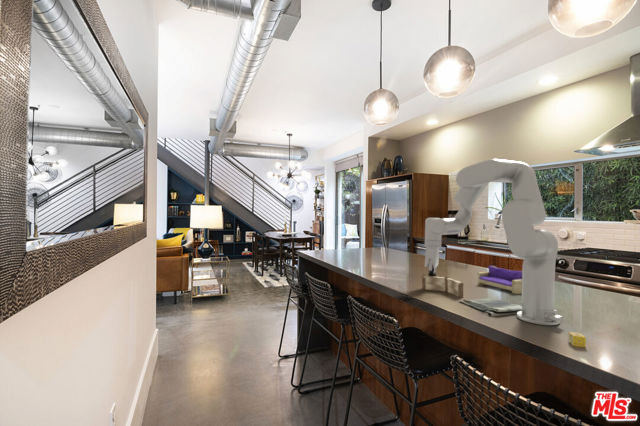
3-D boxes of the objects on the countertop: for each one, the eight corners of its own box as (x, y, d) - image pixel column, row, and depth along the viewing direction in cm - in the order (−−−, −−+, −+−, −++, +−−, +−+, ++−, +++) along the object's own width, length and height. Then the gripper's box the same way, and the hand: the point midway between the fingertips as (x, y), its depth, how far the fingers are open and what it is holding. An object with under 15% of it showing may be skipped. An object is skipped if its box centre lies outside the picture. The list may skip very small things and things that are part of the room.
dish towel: (492, 301, 139) (492, 293, 139) (530, 314, 122) (530, 305, 122) (456, 304, 133) (456, 297, 133) (491, 319, 116) (491, 310, 116)
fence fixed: (463, 298, 140) (463, 282, 140) (460, 298, 139) (460, 282, 139) (447, 291, 151) (447, 276, 151) (444, 291, 151) (444, 276, 151)
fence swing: (444, 290, 151) (444, 276, 151) (444, 291, 150) (444, 277, 150) (422, 288, 155) (422, 275, 155) (422, 289, 154) (422, 275, 154)
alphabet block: (580, 343, 94) (580, 332, 94) (585, 347, 91) (586, 336, 91) (568, 342, 95) (568, 331, 95) (573, 346, 92) (573, 335, 92)
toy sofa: (476, 285, 166) (476, 265, 166) (489, 284, 169) (489, 264, 169) (514, 295, 147) (514, 273, 147) (527, 293, 150) (527, 271, 150)
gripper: (428, 241, 164) (427, 277, 164) (421, 244, 151) (420, 283, 151) (443, 242, 160) (442, 279, 160) (438, 245, 147) (437, 286, 147)
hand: (432, 281), depth 156 cm, fingers closed
